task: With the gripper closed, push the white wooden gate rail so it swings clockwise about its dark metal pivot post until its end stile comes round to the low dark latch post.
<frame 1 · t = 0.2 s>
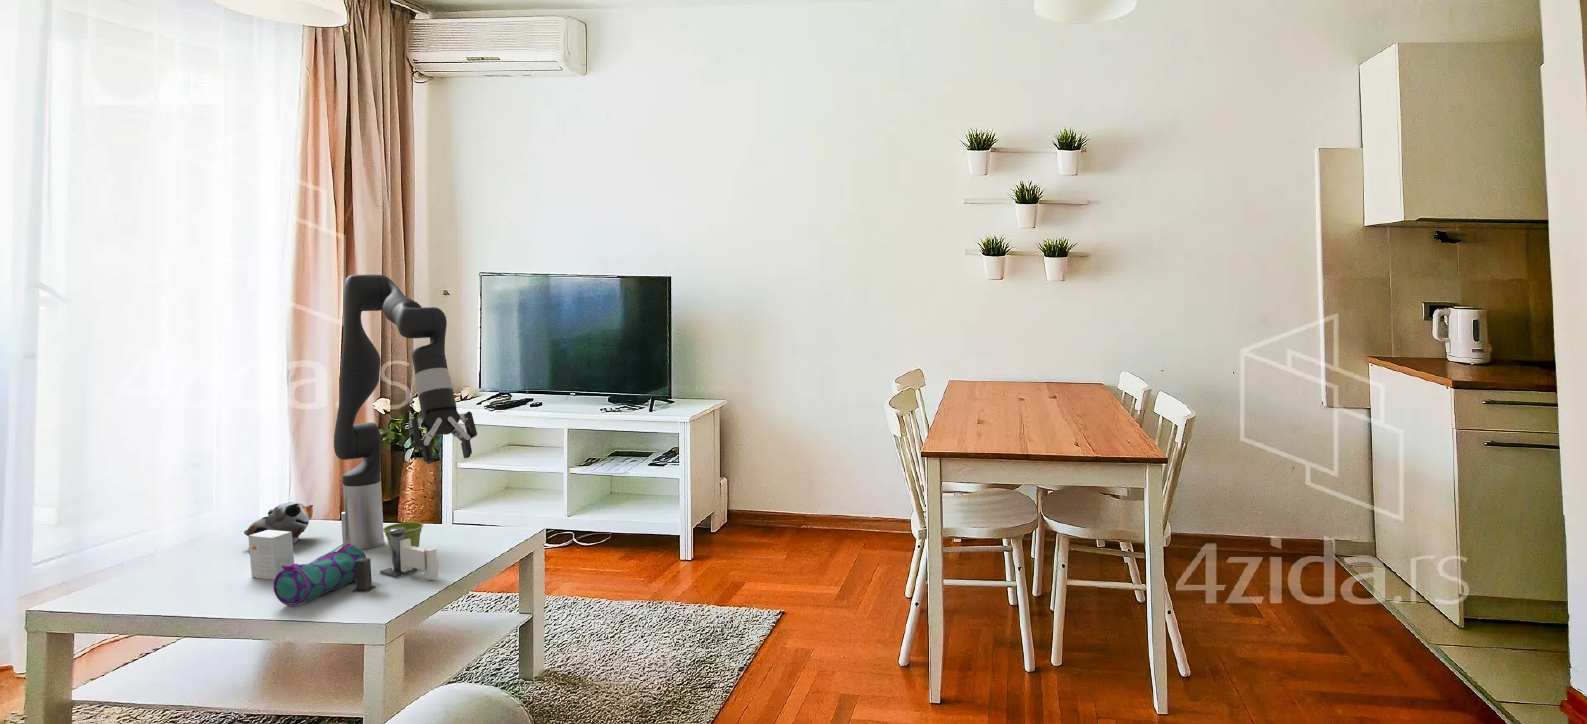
hand: (448, 460, 202), 31 cm above the table, tool tilted 20°, fingers open, 8 cm apart
pivot post: (399, 572, 220), on the table
latch post: (364, 589, 208), on the table
plant pot: (405, 560, 231), on the table
small box: (273, 576, 220), on the table
pencil case: (322, 593, 207), on the table
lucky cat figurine: (281, 543, 248), on the table
gate: (418, 559, 216), point 5 cm above the table, hinge at 0.0°
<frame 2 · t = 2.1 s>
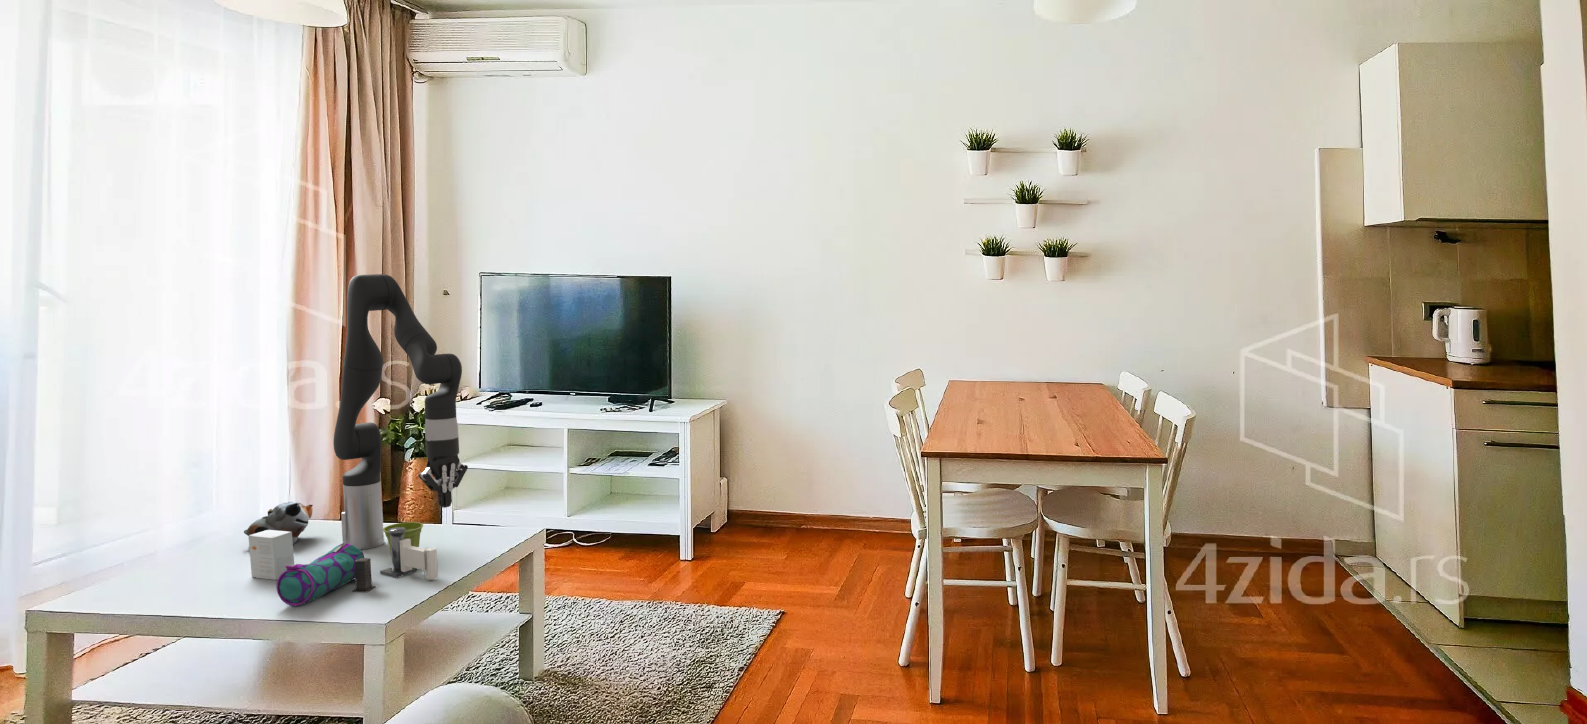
hand: (445, 506, 220), 16 cm above the table, tool pointing down, fingers closed
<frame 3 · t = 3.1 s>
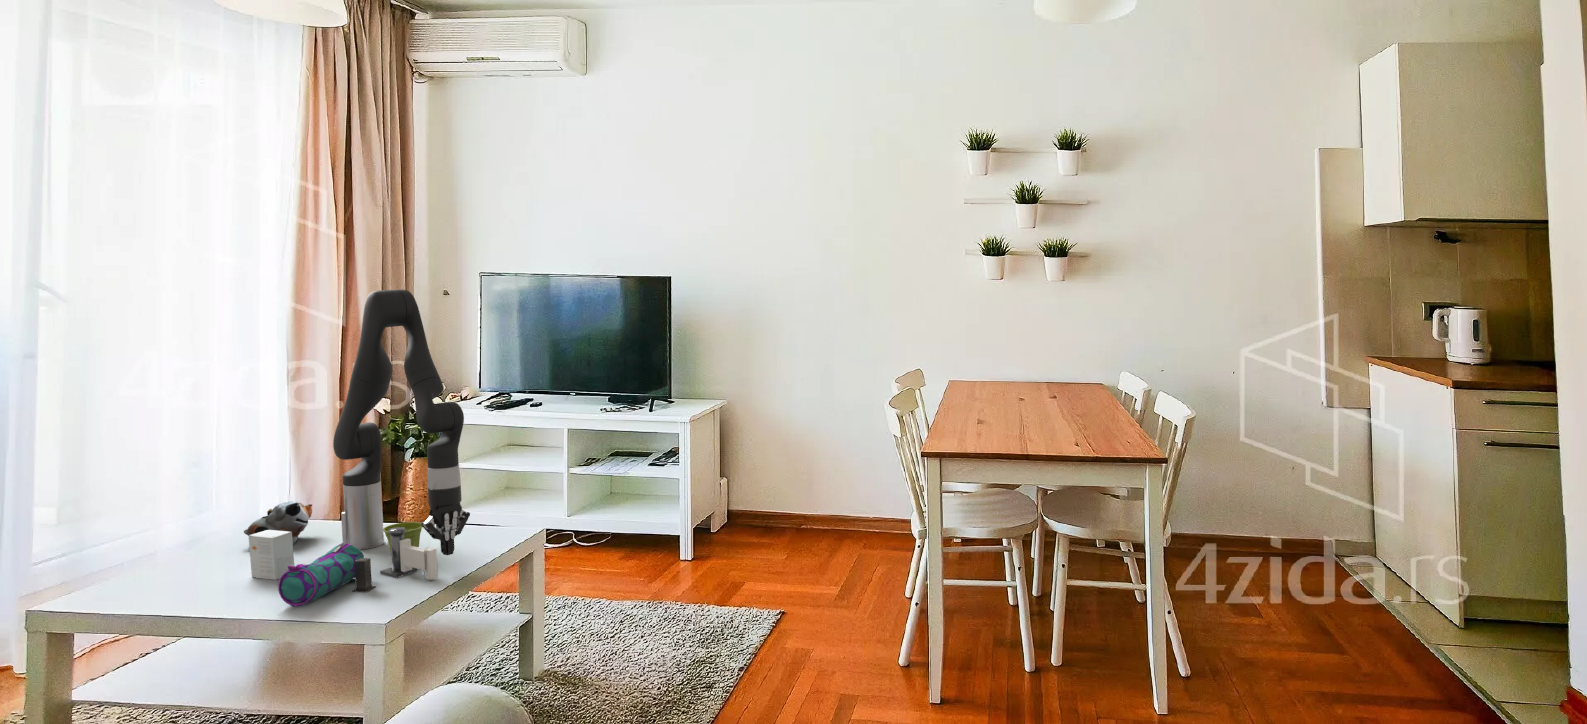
hand: (447, 554, 220), 4 cm above the table, tool pointing down, fingers closed
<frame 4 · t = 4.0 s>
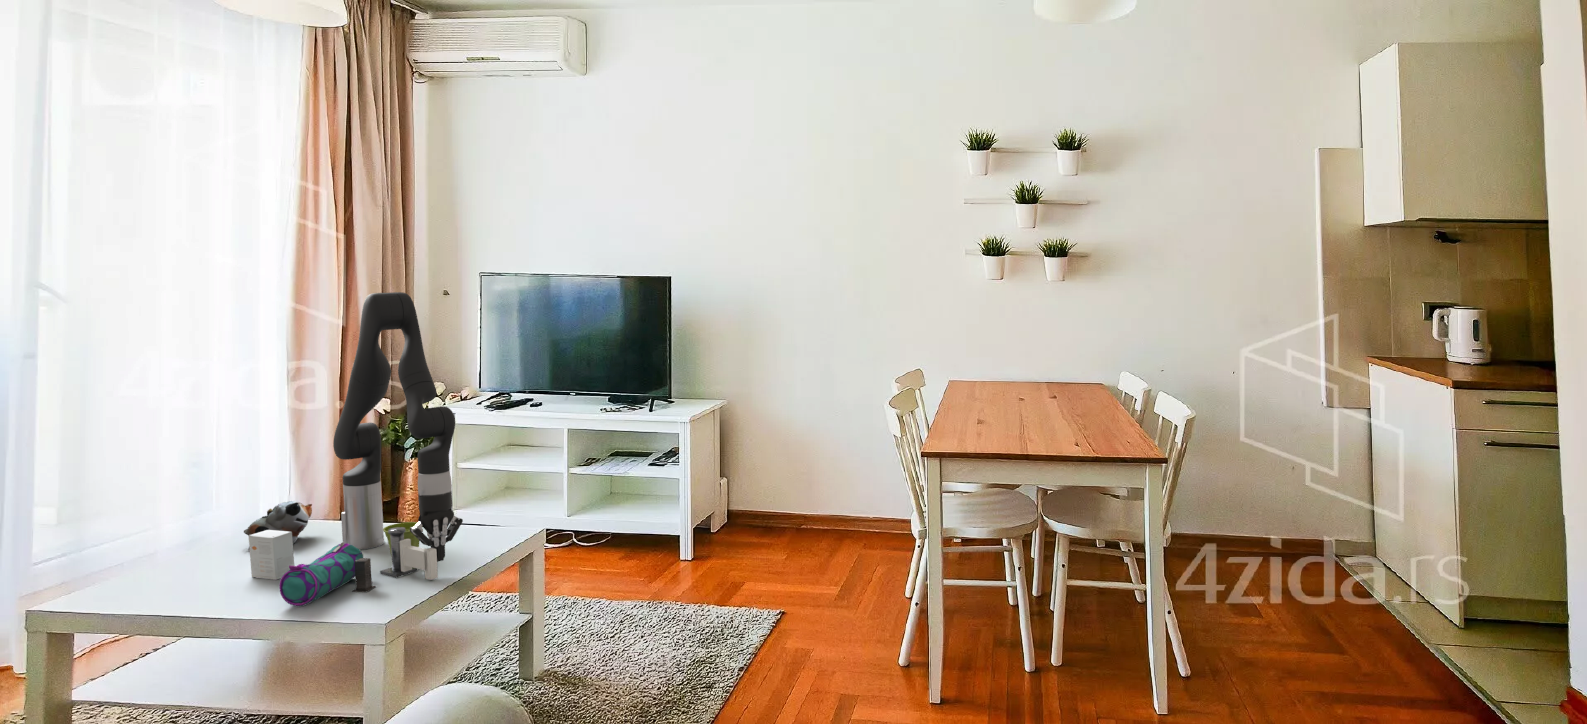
hand: (438, 560, 218), 4 cm above the table, tool pointing down, fingers closed
gate: (418, 559, 216), point 5 cm above the table, hinge at 0.0°, touching gripper
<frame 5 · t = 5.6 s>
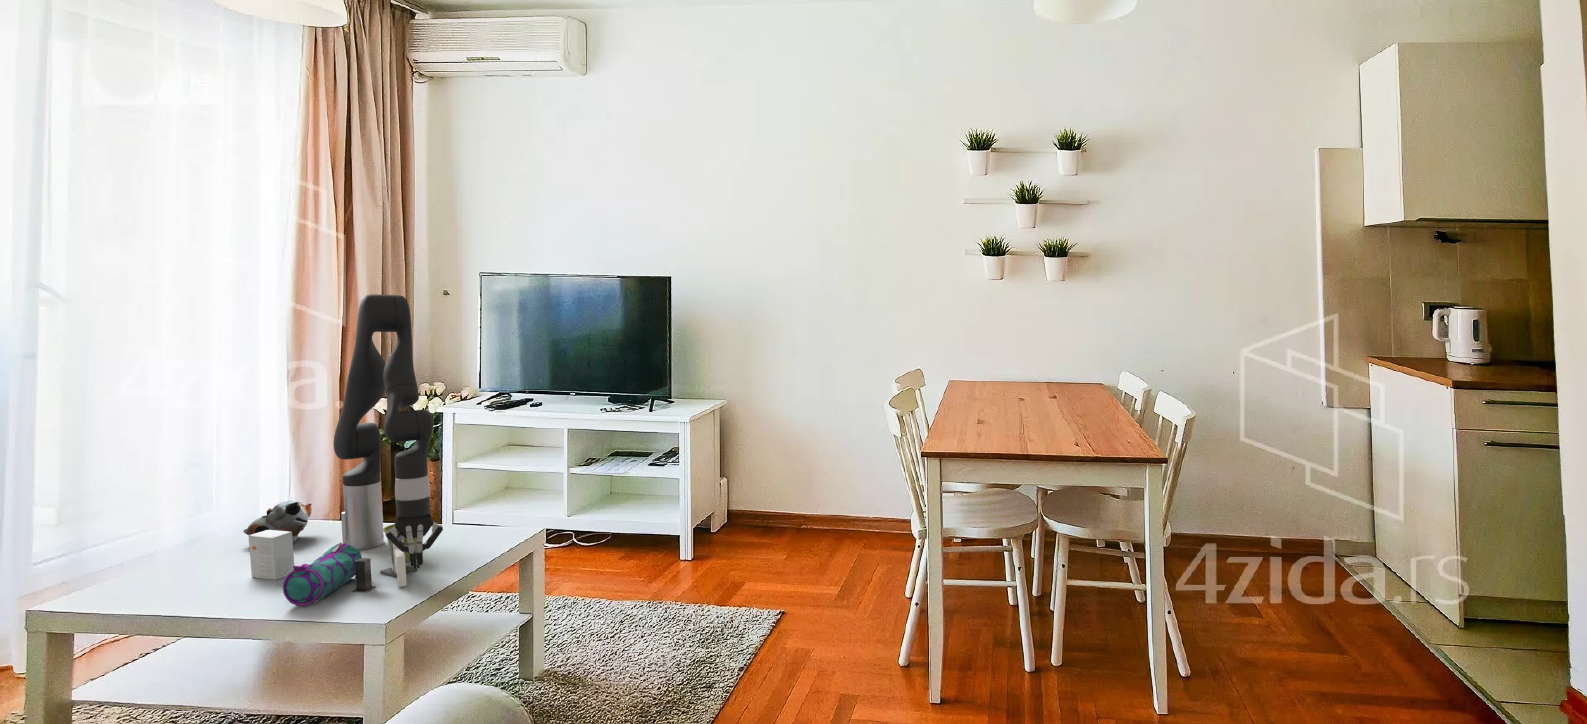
hand: (416, 567, 213), 4 cm above the table, tool pointing down, fingers closed
gate: (400, 563, 213), point 5 cm above the table, hinge at -32.5°, touching gripper
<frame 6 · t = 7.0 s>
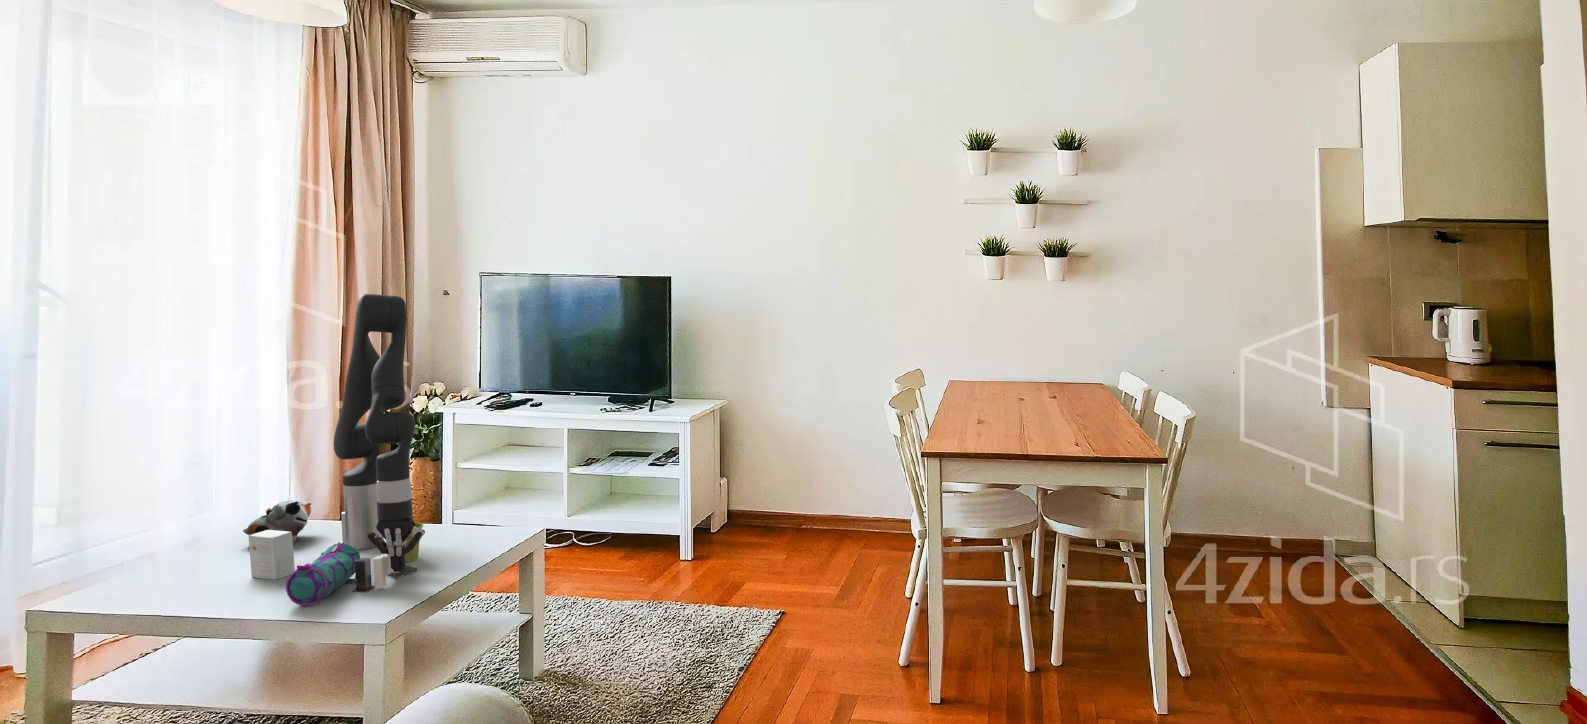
hand: (398, 570, 210), 4 cm above the table, tool pointing down, fingers closed
gate: (386, 564, 212), point 5 cm above the table, hinge at -54.2°, touching gripper
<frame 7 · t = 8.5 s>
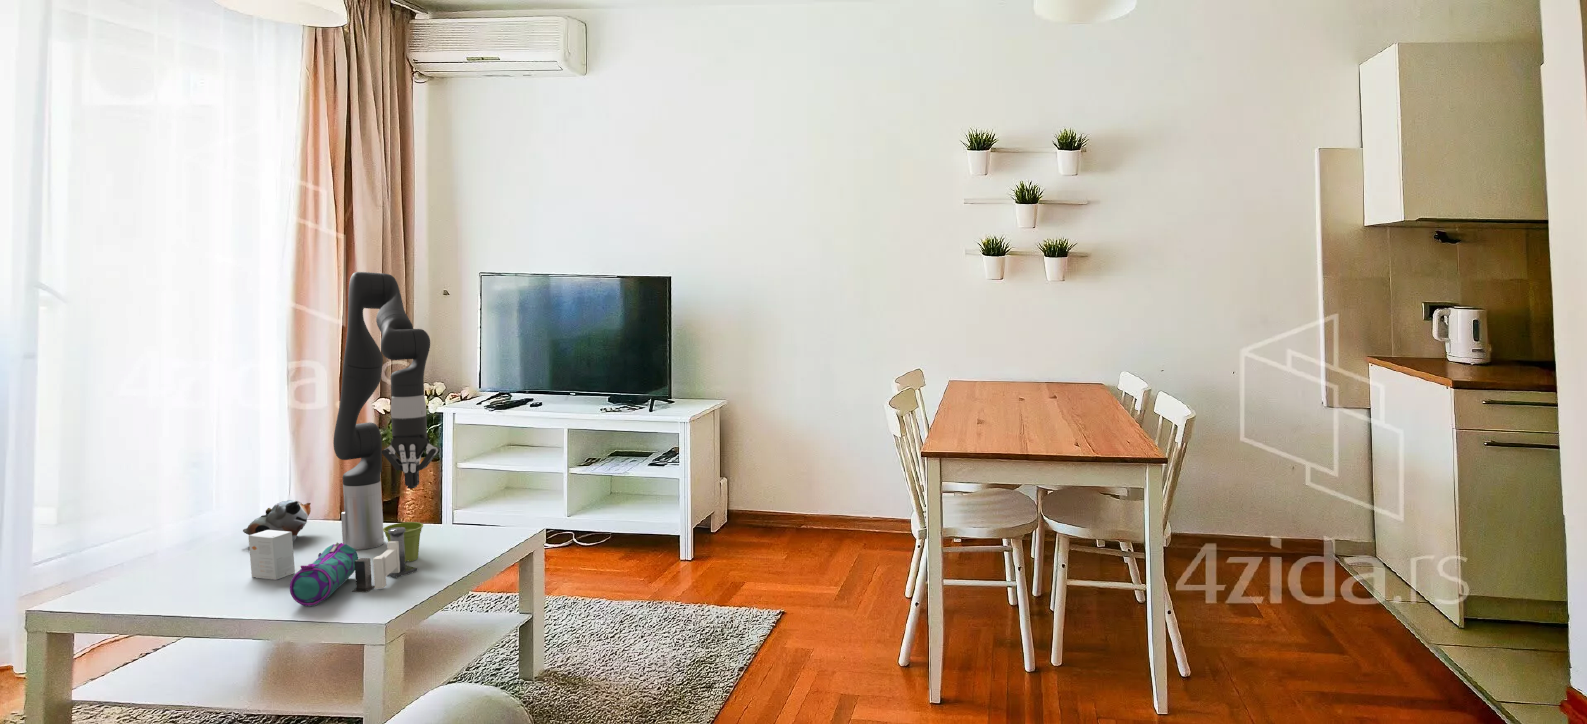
hand: (412, 487, 212), 23 cm above the table, tool pointing down, fingers closed
gate: (386, 564, 212), point 5 cm above the table, hinge at -54.2°
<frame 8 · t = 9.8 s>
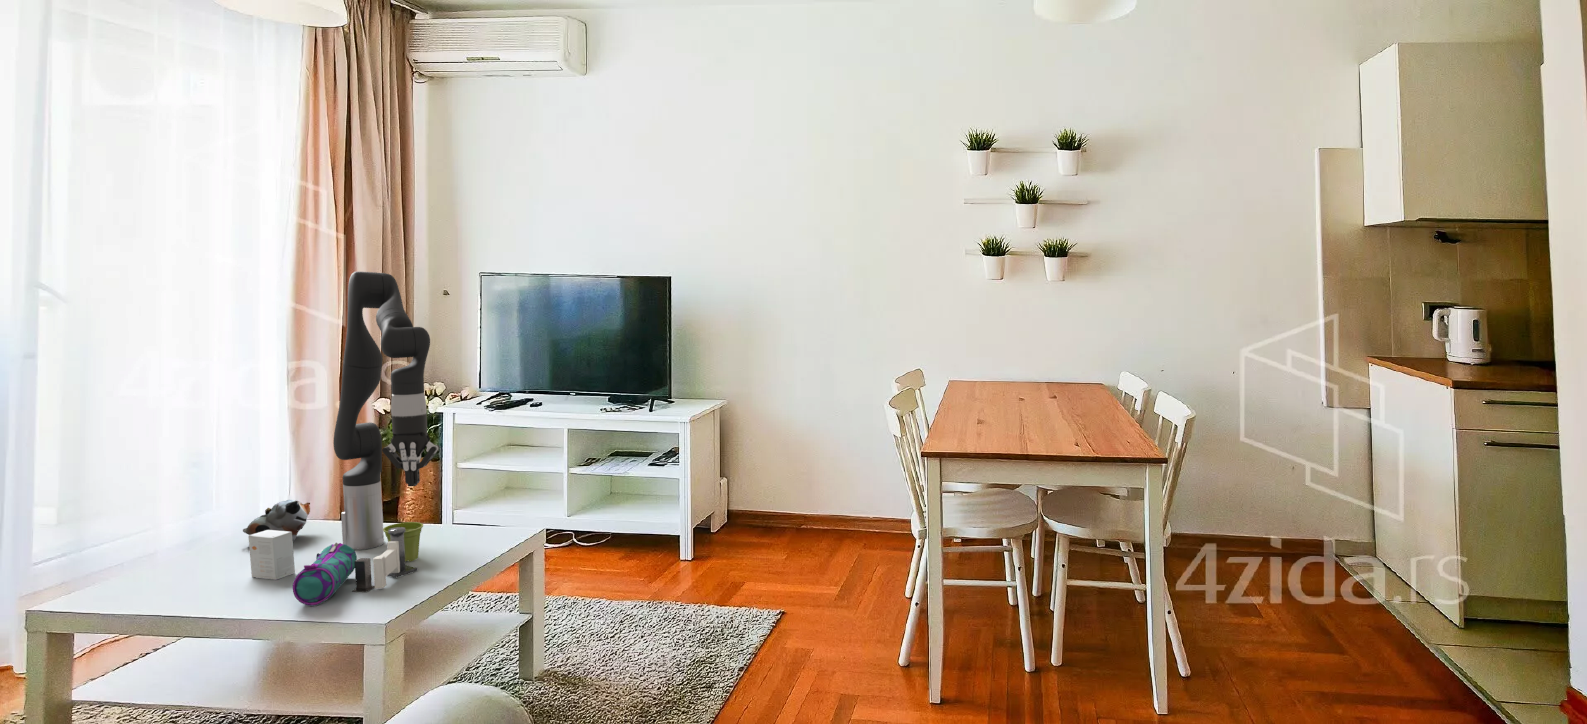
hand: (412, 485, 212), 23 cm above the table, tool pointing down, fingers closed
at the end: gate at -54° (first picture: +0°); gate 0.0 cm from the pivot post (horizontally) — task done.
